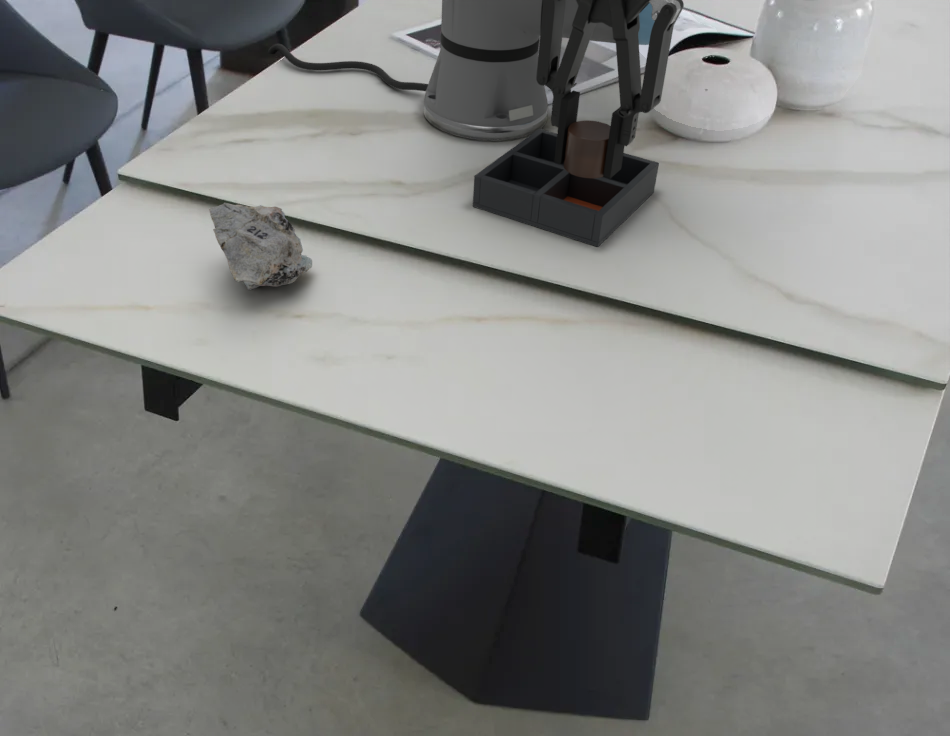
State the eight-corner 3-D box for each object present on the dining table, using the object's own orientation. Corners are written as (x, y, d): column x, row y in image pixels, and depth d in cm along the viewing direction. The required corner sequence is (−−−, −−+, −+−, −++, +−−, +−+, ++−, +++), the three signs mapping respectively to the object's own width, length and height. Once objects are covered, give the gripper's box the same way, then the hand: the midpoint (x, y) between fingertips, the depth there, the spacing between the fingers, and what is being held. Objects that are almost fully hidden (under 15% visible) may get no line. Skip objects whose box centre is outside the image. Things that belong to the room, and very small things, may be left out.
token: (555, 170, 104) (559, 131, 101) (576, 153, 107) (580, 116, 104) (598, 183, 102) (604, 144, 99) (618, 166, 105) (624, 128, 103)
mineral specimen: (296, 320, 101) (192, 298, 98) (307, 240, 102) (204, 217, 99) (316, 296, 92) (202, 272, 89) (328, 210, 93) (215, 183, 89)
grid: (472, 206, 110) (474, 175, 107) (536, 157, 120) (539, 128, 117) (597, 247, 105) (602, 215, 102) (654, 192, 114) (659, 162, 112)
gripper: (510, -100, 89) (492, 155, 105) (703, -61, 83) (654, 204, 99) (549, -115, 94) (527, 131, 110) (734, -80, 88) (683, 175, 104)
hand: (587, 165), depth 104 cm, fingers closed on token, 5 cm apart
